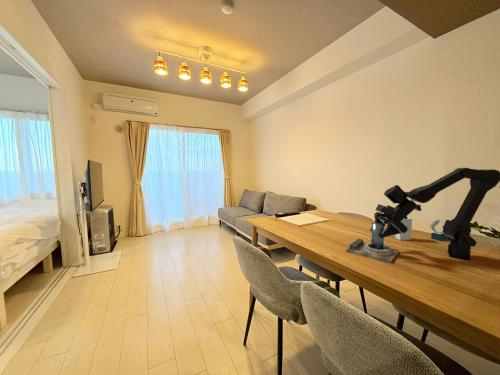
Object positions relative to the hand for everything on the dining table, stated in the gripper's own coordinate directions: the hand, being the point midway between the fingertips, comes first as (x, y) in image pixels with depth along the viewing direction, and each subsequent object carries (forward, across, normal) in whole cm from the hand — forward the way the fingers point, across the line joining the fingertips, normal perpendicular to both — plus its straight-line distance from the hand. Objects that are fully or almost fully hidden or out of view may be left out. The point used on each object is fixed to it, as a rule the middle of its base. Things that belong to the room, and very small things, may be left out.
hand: (375, 234), depth 96 cm
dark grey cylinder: (+5, 0, +6) cm, 8 cm away
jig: (+7, -1, +6) cm, 9 cm away
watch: (-23, -22, +37) cm, 49 cm away
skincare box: (-10, -21, +24) cm, 34 cm away
